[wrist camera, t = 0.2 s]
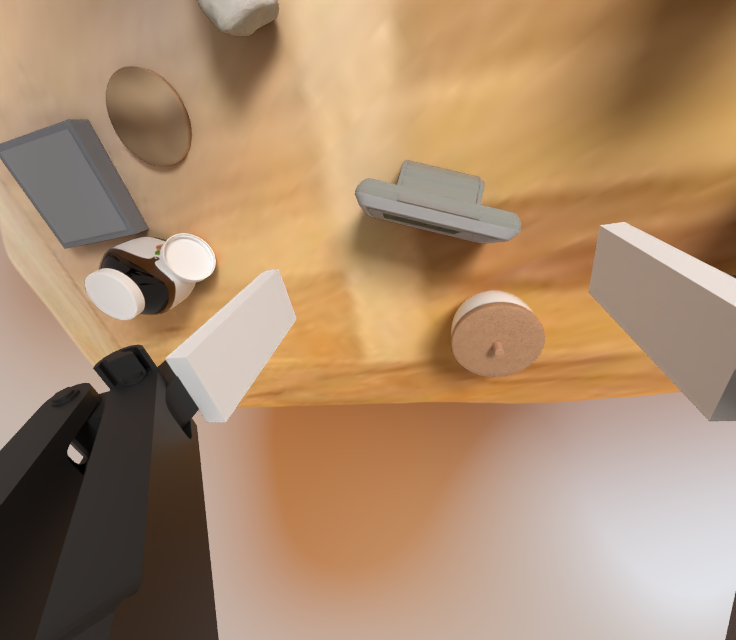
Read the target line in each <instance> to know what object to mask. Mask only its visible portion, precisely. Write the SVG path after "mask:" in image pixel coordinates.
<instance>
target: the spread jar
mask: <svg viewBox="0 0 736 640" xmlns="http://www.w3.org/2000/svg"><path fill="white" fill-rule="evenodd" d="M215 265H216V259H215V255H214V252H213V250H212V249H211V247H210V246H209V245H208V244H207V243H206V242H205V241H204V240H202V239H201V238H199V237H197V236H195V235H192V234H186V233H180V234H176V235H173V236H171V237H170V238H169V239H167V240H164V239H160V238H154V237H140V238H136V239H133V240H130V241H127V242H124V243H122V244H119V245H117V246H115V247H113V248H111V249H110V250H108V251H107V252H106V253H105V254H104V256H103V258H102V260H101V262H100V265H99V270H98V271H95V272H93V273H91V274H89V275H88V276H87V278H86V280H85V288H86V292H87V294H88V296H89V298H90V299H91V301H92V302H93V303H94V304H95V305H96V306H97V307H98V308H99V309H100V310H101V311H103V312H104V313H105V314H107V315H109V316H111V317H113V318H116V319H119V320H130V319H132V318H134V317H135V316H137V315H138V314H144V315H158V314H162V313H165V312H167V311H169V310H171V309H172V308H174V307H175V306H177V305H178V304H179V303H181V302H182V301H183V300H185V299H186V298H187V297H188V296H189V295H190V293H191V292H192V291H193V289H194V287H195V284H196V282H200V281H202V280H204V279H205V278H207V277H208V276H210V275H211V274H212V273H213V271H214V269H215Z"/></svg>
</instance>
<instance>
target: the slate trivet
mask: <svg viewBox="0 0 736 640" xmlns="http://www.w3.org/2000/svg"><path fill="white" fill-rule="evenodd" d="M0 159H1V160H2V161H3V163H4V164H5V166H6V167H7V168H8V170H9V171H10V173H11V174H12V175H13V177H14V178H15V180H16V181H17V182H18V184H19V185H20V187H21V188H22V189H23V191H24V192H25V194H26V195H27V196H28V198H29V199H30V201H31V202H32V203H33V205H34V206H35V208H36V209H37V210H38V212H39V213H40V215H41V216H42V217H43V219H44V220H45V222H46V223H47V224H48V226H49V227H50V229H51V230H52V231H53V233H54V234H55V236H56V237H57V238H58V240H59V241H60V243H61V244H62V245H63V247H64V248H65V249H66V248H71V247H76V246H81V245H85V244H90V243H95V242H100V241H104V240H109V239H114V238H119V237H123V236H128V235H133V234H137V233H139V232H142V231H145V230H147V229H149V228H148V226H147V224H146V223H145V221H144V219H143V217H142V215H141V214H140V212H139V210H138V208H137V206H136V205H135V203H134V201H133V199H132V198H131V196H130V194H129V192H128V190H127V189H126V187H125V185H124V183H123V181H122V180H121V178H120V176H119V174H118V172H117V171H116V169H115V167H114V165H113V164H112V162H111V160H110V158H109V156H108V155H107V153H106V151H105V149H104V147H103V146H102V144H101V142H100V140H99V138H98V137H97V135H96V133H95V131H94V130H93V128H92V126H91V124H90V122H89V121H88V120H66V121H63V122H61V123H58V124H55V125H52V126H49V127H46V128H44V129H41V130H38V131H35V132H32V133H30V134H27V135H24V136H21V137H18V138H15V139H13V140H10V141H7V142H4V143H1V144H0Z"/></svg>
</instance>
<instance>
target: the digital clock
mask: <svg viewBox="0 0 736 640" xmlns="http://www.w3.org/2000/svg"><path fill="white" fill-rule="evenodd" d="M483 190H484V181H483V180H482V179H481V178H480V177H477V176H473V175H468V174H464V173H460V172H456V171H451V170H447V169H443V168H439V167H434V166H430V165H426V164H422V163H417V162H413V161H409V160H405V161H404V163H403V165H402V168H401V172H400V176H399V179H398V183H397V185H396V184H391V183H387V182H383V181H378V180H374V179H365V180H363V181H362V182H361V183H360V184H359V185H358V186H357V188H356V191H355V196H356V198H357V201H358V203H359V205H360V207H361V208H362V209H363V211H364V212H365V213H366V214H367V215H368V216H370V217H374V218H377V219H381V220H385V221H390V222H394V223H398V224H402V225H406V226H410V227H414V228H418V229H423V230H427V231H431V232H435V233H439V234H443V235H447V236H451V237H456V238H460V239H464V240H468V241H472V242H476V243H482V244H486V243H496V242H505V241H509V240H510V239H512V238H513V237H515V236H516V235H517V234H519V233H520V230H521V222H520V220H519V218H518V216H517V215H516V214H515V213H512V212H509V211H505V210H500V209H496V208H492V207H488V206H484V205H481V200H482V193H483Z"/></svg>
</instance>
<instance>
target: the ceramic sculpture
mask: <svg viewBox="0 0 736 640" xmlns="http://www.w3.org/2000/svg"><path fill="white" fill-rule="evenodd" d="M197 1H198V5H199V6H200V8H201V9H202V10H203V12H204V13H205V14H206V15H207V16H208V18H209V19H210V21H211V22H212V23H213V24H214V25H215V26H216V27H217V28H218V29H219V31H221V32H222V33H227V34H230V35H234V36H240V35H241V36H249V35H252V34H253V33H254V32H255V31H256V30H257V29H258V28H260V27H262V26H264V25H266V24H268V23H270V22H272V21H273V20H274V19H275V18H277V16H278V13H279V4H278V1H277V0H197Z"/></svg>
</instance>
